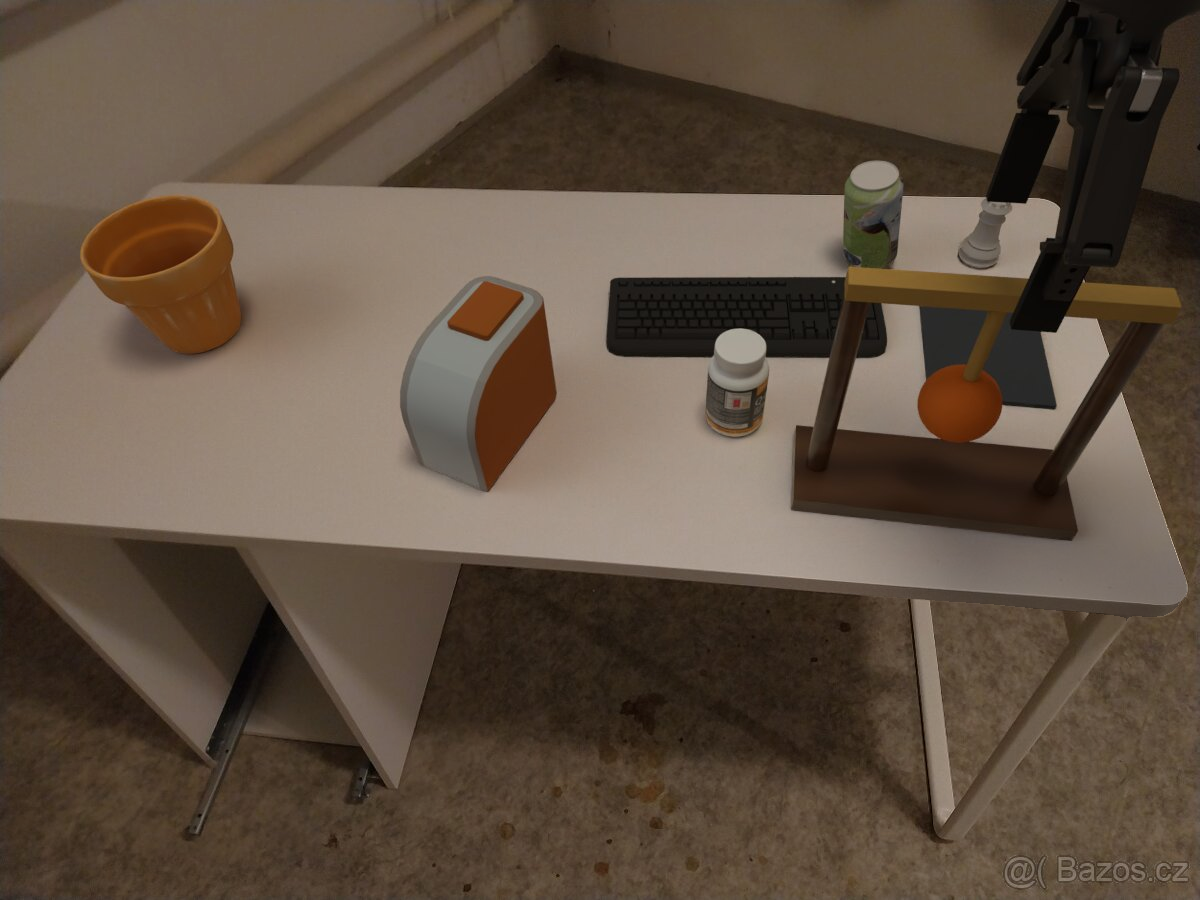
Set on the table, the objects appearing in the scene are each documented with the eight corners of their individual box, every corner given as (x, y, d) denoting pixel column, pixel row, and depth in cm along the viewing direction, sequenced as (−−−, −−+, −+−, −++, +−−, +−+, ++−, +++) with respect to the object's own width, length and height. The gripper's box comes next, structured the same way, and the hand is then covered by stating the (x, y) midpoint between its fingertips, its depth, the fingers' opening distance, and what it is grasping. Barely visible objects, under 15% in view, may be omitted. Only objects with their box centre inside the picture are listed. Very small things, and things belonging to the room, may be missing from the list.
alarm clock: (495, 364, 90) (473, 263, 79) (564, 388, 87) (551, 287, 76) (415, 462, 82) (379, 365, 71) (488, 492, 79) (462, 396, 68)
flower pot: (280, 286, 100) (238, 192, 90) (245, 371, 91) (194, 277, 81) (166, 288, 101) (112, 195, 91) (121, 373, 92) (54, 280, 82)
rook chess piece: (994, 246, 98) (1017, 186, 91) (1000, 270, 95) (1024, 211, 89) (954, 244, 98) (974, 185, 92) (959, 269, 95) (980, 209, 89)
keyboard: (606, 356, 90) (605, 342, 88) (611, 289, 96) (610, 276, 95) (888, 357, 87) (892, 343, 86) (873, 289, 94) (876, 275, 92)
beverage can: (904, 268, 96) (931, 176, 87) (849, 286, 95) (870, 194, 85) (874, 237, 100) (896, 146, 90) (820, 254, 98) (837, 163, 89)
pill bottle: (766, 437, 81) (777, 366, 74) (707, 440, 82) (712, 369, 74) (758, 395, 85) (768, 322, 77) (702, 397, 85) (706, 325, 77)
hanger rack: (1071, 540, 72) (1200, 361, 55) (791, 510, 76) (830, 332, 59) (1055, 460, 78) (1167, 274, 61) (794, 434, 81) (830, 252, 64)
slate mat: (1055, 409, 82) (1057, 406, 81) (927, 398, 83) (929, 394, 83) (1029, 289, 93) (1030, 285, 92) (917, 281, 94) (918, 278, 94)
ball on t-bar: (1094, 472, 67) (1191, 329, 55) (815, 444, 70) (848, 304, 58) (1080, 413, 71) (1167, 267, 59) (816, 389, 74) (847, 247, 62)
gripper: (1046, -175, 48) (946, 153, 65) (1142, 25, 33) (979, 386, 50) (1186, -176, 47) (1048, 158, 64) (1352, 30, 32) (1114, 398, 49)
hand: (1018, 259), depth 57 cm, fingers open, 13 cm apart
